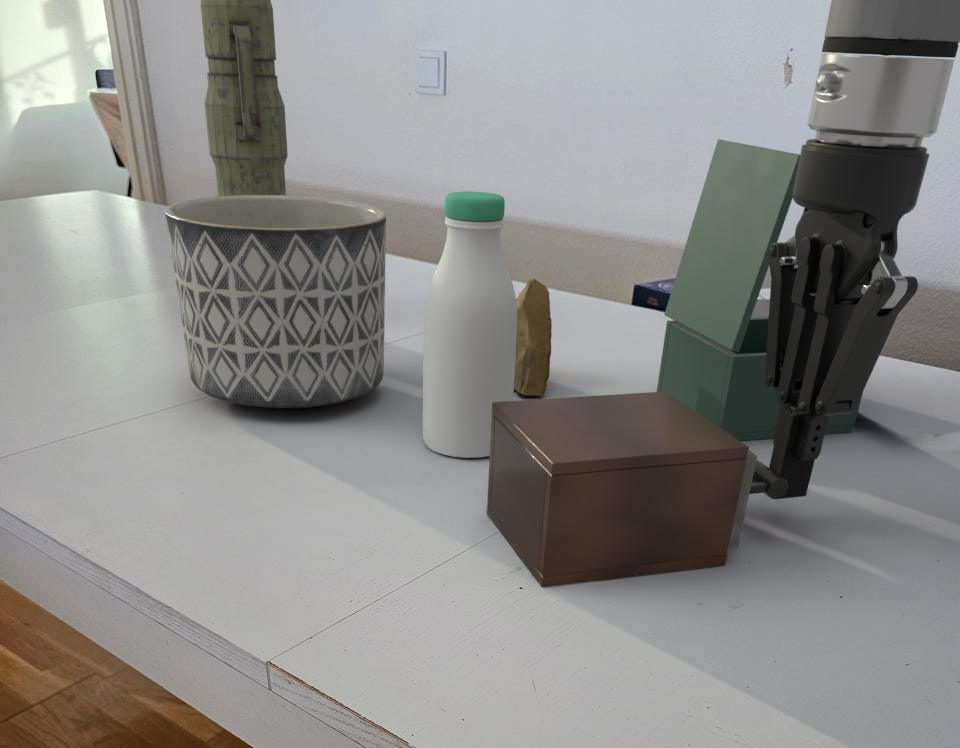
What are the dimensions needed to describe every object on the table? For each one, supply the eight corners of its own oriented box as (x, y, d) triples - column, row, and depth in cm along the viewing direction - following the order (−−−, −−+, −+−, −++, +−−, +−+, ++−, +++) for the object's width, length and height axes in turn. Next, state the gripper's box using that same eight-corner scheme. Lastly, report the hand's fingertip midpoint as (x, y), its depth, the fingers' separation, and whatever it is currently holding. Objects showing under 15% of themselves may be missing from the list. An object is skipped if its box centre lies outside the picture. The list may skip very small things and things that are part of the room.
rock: (573, 381, 91) (583, 341, 98) (524, 307, 87) (538, 271, 95) (485, 432, 96) (501, 391, 104) (435, 365, 92) (455, 327, 100)
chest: (778, 391, 99) (795, 315, 95) (852, 432, 89) (874, 349, 85) (655, 399, 95) (666, 320, 91) (718, 443, 85) (734, 356, 81)
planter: (269, 353, 102) (257, 188, 94) (422, 383, 96) (424, 209, 87) (144, 400, 88) (115, 210, 79) (315, 440, 81) (304, 237, 72)
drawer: (716, 484, 74) (732, 401, 70) (791, 542, 66) (813, 450, 62) (518, 503, 69) (524, 415, 66) (572, 567, 61) (582, 470, 57)
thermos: (285, 300, 124) (264, -23, 105) (307, 322, 114) (288, -27, 96) (218, 303, 120) (182, -29, 102) (234, 326, 111) (199, -34, 92)
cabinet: (649, 498, 74) (665, 390, 69) (725, 565, 64) (749, 447, 60) (486, 514, 70) (491, 401, 65) (541, 588, 61) (552, 463, 56)
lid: (724, 141, 83) (717, 139, 83) (807, 156, 73) (799, 154, 73) (671, 316, 90) (663, 315, 90) (739, 352, 80) (731, 351, 80)
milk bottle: (521, 457, 80) (539, 201, 69) (434, 463, 78) (438, 201, 67) (495, 426, 86) (507, 187, 75) (413, 431, 84) (414, 186, 73)
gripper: (756, 128, 61) (697, 465, 74) (885, 149, 51) (791, 536, 64) (852, 130, 63) (778, 458, 76) (994, 150, 53) (882, 525, 66)
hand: (784, 493), depth 70 cm, fingers closed
